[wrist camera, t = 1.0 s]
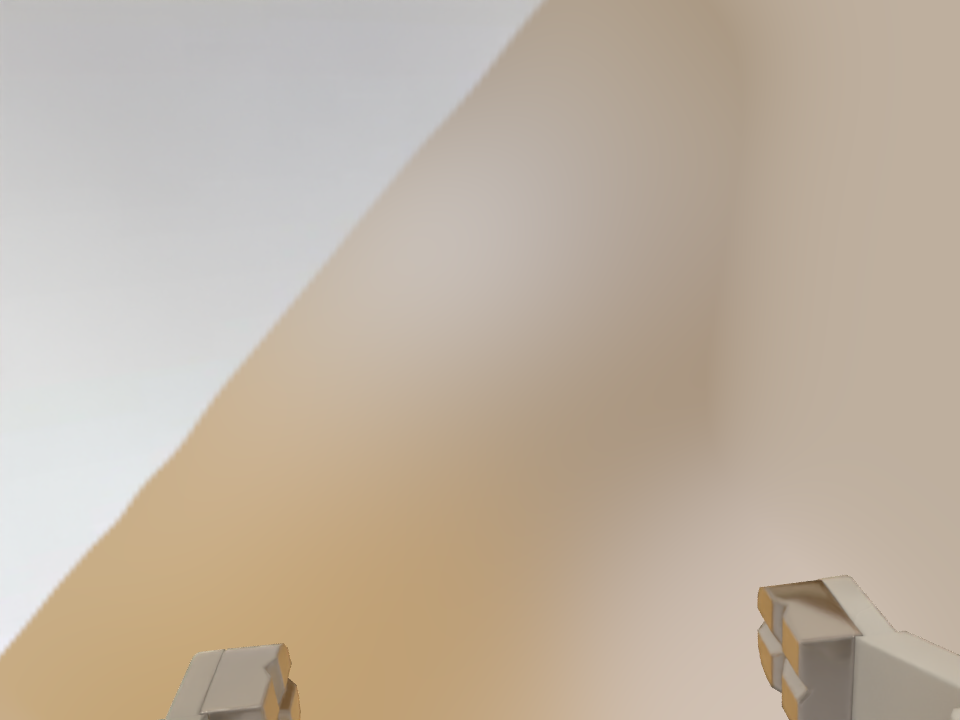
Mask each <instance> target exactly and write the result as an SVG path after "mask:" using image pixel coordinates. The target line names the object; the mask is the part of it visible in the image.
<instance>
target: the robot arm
mask: <svg viewBox="0 0 960 720" xmlns="http://www.w3.org/2000/svg"><path fill="white" fill-rule="evenodd" d="M758 609H759V611H760V613H761V615H762V617H763V618H764V620H765V621H764V622H763V624H762V625H761V627H760V628H759V629H758V648H759V653H760V658H761V664H762V666H763V669H764V672H765V675H766V677H767V679H768V681H769V683H770V685H771V687H772V688H774V689H776V690H777V691H779V692H781V693H782V707H783V709H784V711H785V713H786V715H787V717H788V719H789V720H960V655H958V654H956V653H954V652H952V651H949V650H947V649H945V648H943V647H940V646H938V645H936V644H934V643H931V642H929V641H927V640H925V639H923V638H920V637H918V636H916V635H914V634H911V633H909V632H907V631H901V632H897V631H896V630H895V629H894V628H893V626H892V625H891V624H890V623H889V622H888V620H886V618H885V617H884V616H883V614H882V613H881V612H880V611H879V610H878V608H877V607H876V606H875V605H874V604H873V603H872V601H871V600H870V599H869V598H868V596H867V595H866V594H865V593H864V592H863V590H862V589H861V588H860V587H859V586H858V584H857V583H856V582H855V581H854V579H853V578H852V577H850V576H848V575H842V576H835V577H829V578H822V579H818V580H815V581H806V582H799V583H791V584H783V585H776V586H767V587H760V589H759V592H758ZM290 668H291V660H290V655H289V652H288V648H287V647H286V646H285V644H273V645H262V646H253V647H243V648H231V649H227V650H225V649H223V650H214V651H205V652H198V653H197V654H196V655H194V656H193V658H192V660H191V662H190V664H189V667H188V669H187V671H186V673H185V676H184V678H183V680H182V682H181V685H180V687H179V689H178V691H177V694H176V696H175V698H174V700H173V703H172V705H171V707H170V709H169V712H168V714H167V716H166V719H161V720H300V713H301V711H300V702H299V695H298V690H297V685H296V684H295V683H293V682H292V681H291V680H290V679H289V678H288V676H289V672H290Z"/></svg>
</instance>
